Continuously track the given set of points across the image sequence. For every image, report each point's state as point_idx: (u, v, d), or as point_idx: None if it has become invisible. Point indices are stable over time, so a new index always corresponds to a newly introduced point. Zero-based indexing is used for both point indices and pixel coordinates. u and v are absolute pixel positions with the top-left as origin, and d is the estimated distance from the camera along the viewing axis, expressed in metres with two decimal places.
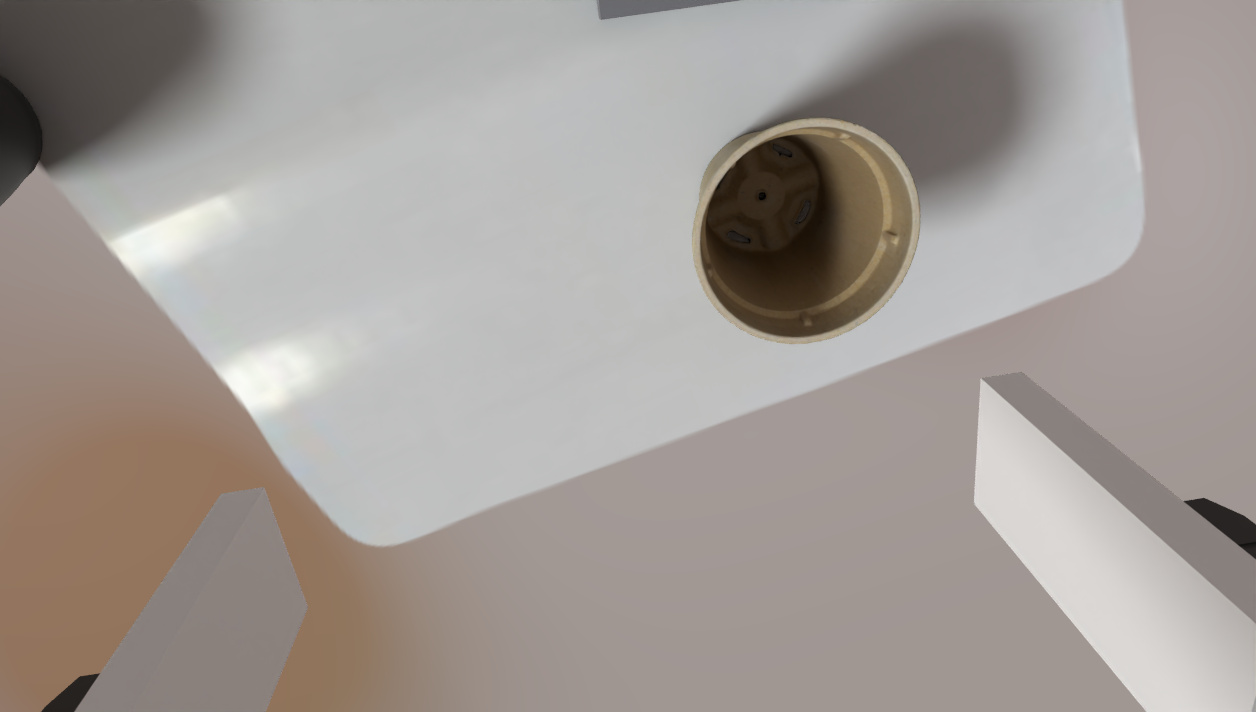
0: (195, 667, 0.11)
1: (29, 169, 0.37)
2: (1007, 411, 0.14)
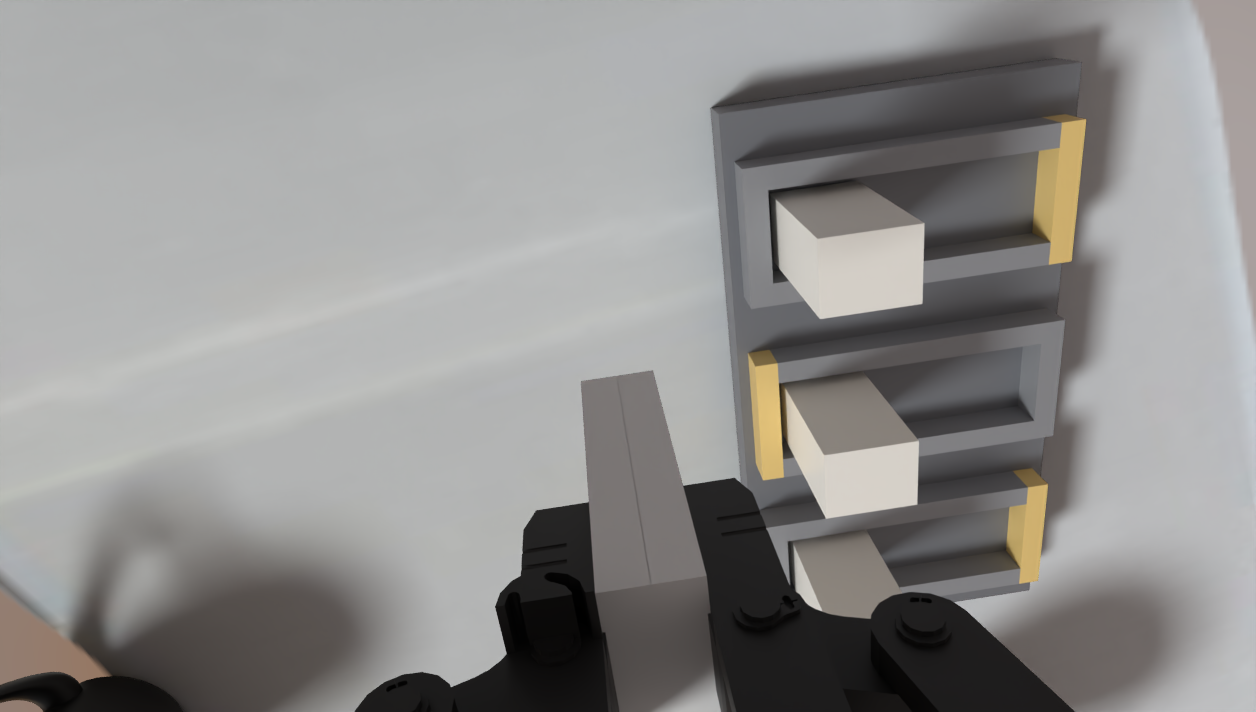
0: None
1: None
2: (620, 404, 0.16)
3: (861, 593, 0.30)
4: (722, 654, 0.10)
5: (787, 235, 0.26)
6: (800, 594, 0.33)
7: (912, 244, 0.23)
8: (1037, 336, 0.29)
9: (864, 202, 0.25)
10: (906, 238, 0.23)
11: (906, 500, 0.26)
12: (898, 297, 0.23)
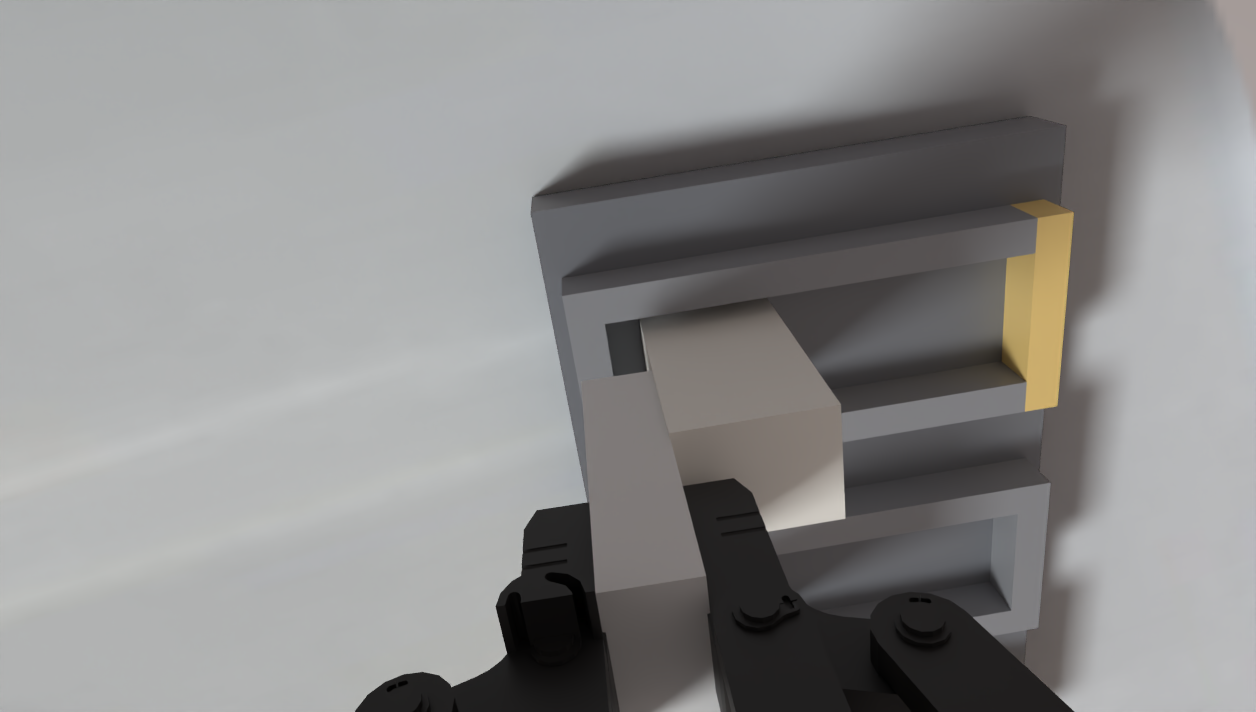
0: None
1: None
2: (620, 404, 0.16)
3: None
4: (722, 654, 0.10)
5: None
6: None
7: (823, 435, 0.14)
8: (1011, 505, 0.21)
9: (763, 345, 0.17)
10: (813, 427, 0.14)
11: None
12: (806, 511, 0.15)
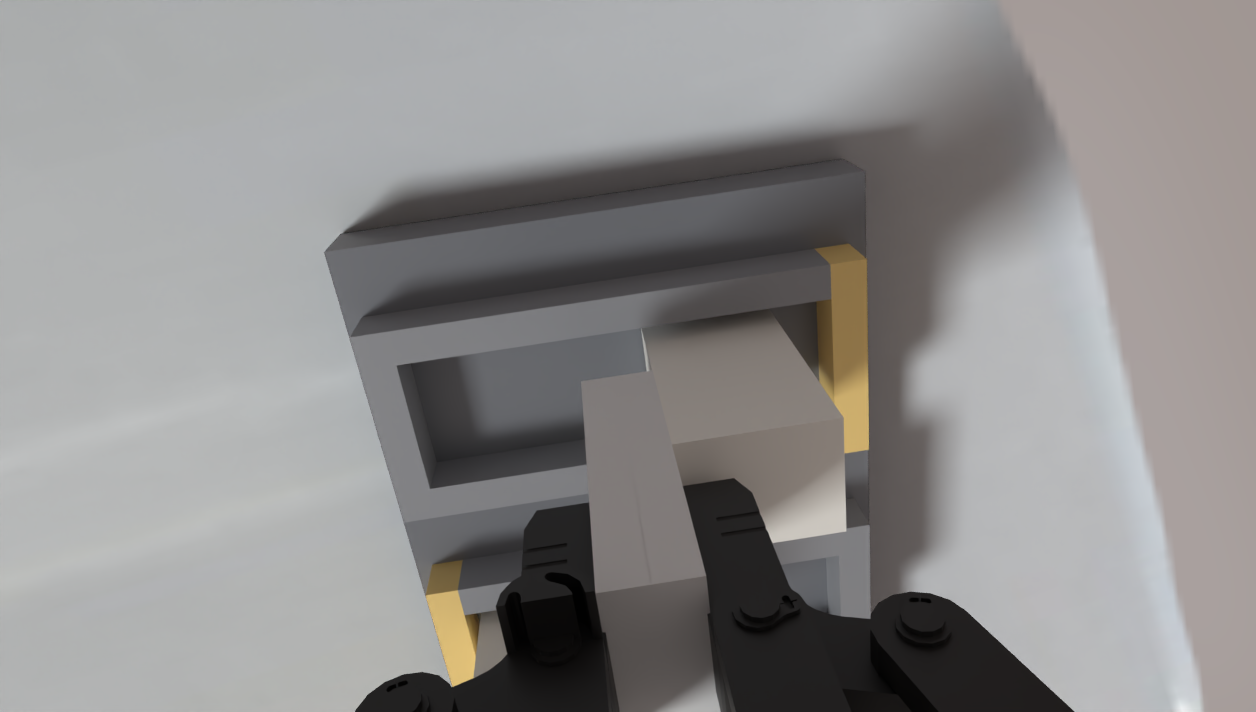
0: None
1: None
2: (620, 404, 0.16)
3: None
4: (722, 654, 0.10)
5: None
6: None
7: (825, 448, 0.14)
8: (832, 546, 0.21)
9: (765, 357, 0.17)
10: (815, 440, 0.14)
11: None
12: (807, 523, 0.15)
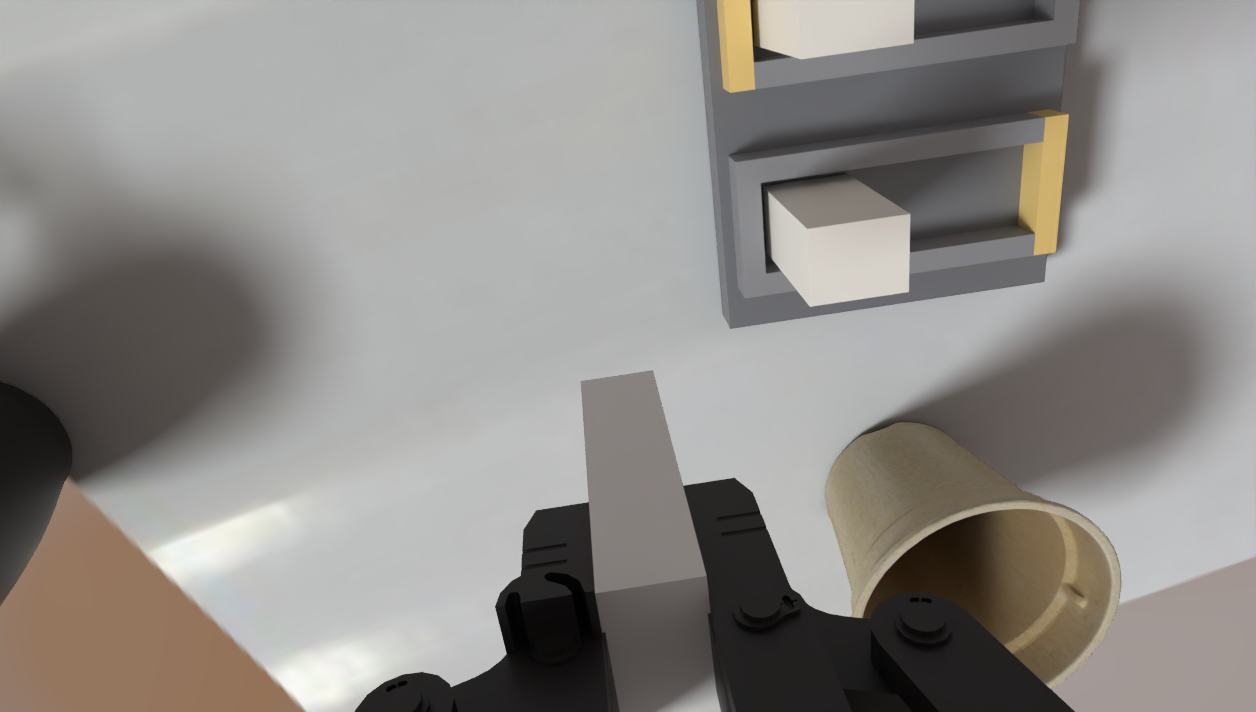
0: None
1: (58, 496, 0.31)
2: (621, 404, 0.16)
3: (846, 209, 0.25)
4: (722, 654, 0.10)
5: None
6: (776, 252, 0.28)
7: None
8: None
9: None
10: None
11: (899, 36, 0.21)
12: None
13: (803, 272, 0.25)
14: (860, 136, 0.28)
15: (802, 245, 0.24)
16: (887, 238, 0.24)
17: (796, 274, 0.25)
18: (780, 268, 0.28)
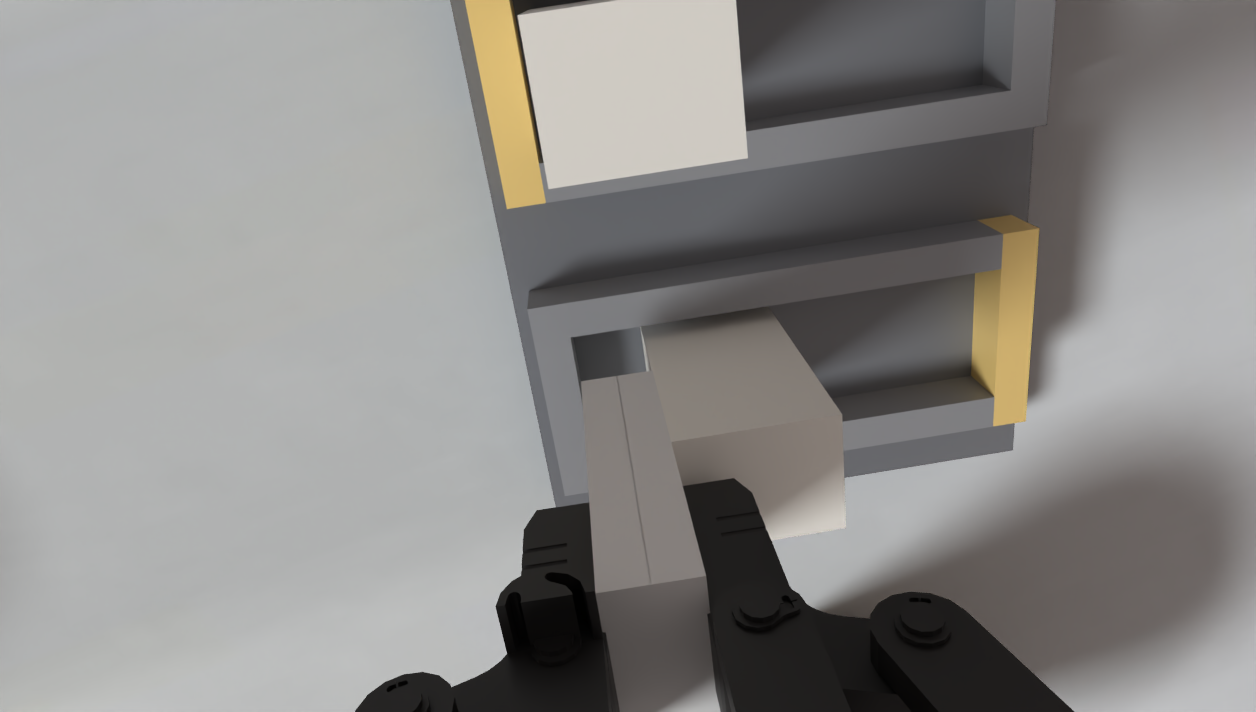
0: None
1: None
2: (620, 404, 0.16)
3: (745, 392, 0.15)
4: (722, 654, 0.10)
5: None
6: None
7: None
8: None
9: None
10: None
11: (722, 146, 0.12)
12: None
13: None
14: (727, 260, 0.19)
15: None
16: (805, 452, 0.14)
17: None
18: None
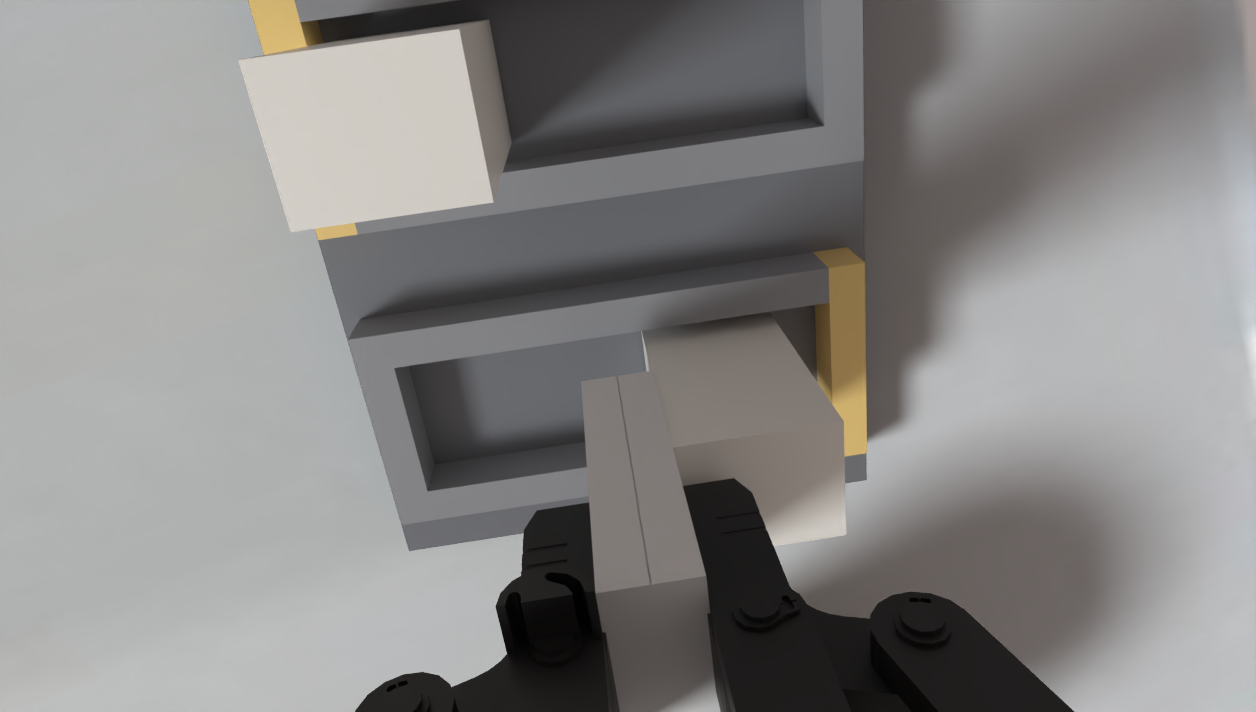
0: None
1: None
2: (620, 404, 0.16)
3: (746, 398, 0.15)
4: (721, 654, 0.10)
5: None
6: None
7: None
8: None
9: None
10: None
11: (465, 190, 0.12)
12: None
13: None
14: (560, 290, 0.19)
15: None
16: (807, 458, 0.14)
17: None
18: None
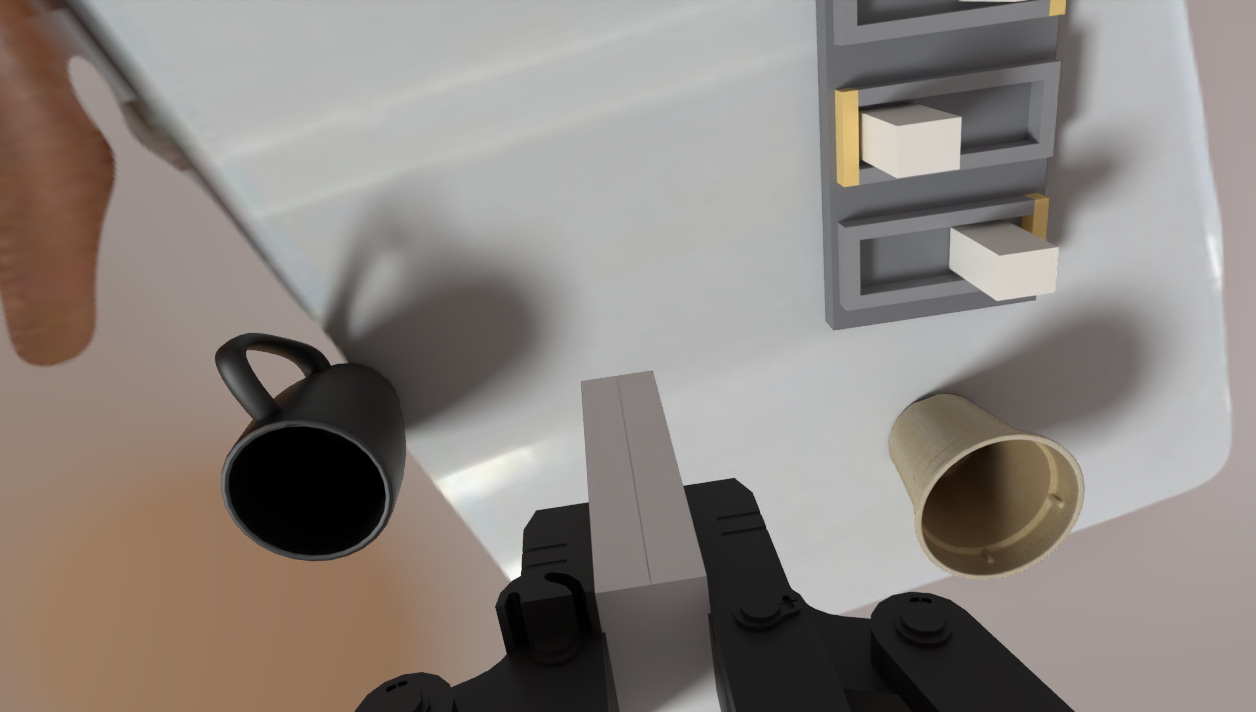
0: None
1: None
2: (621, 404, 0.16)
3: (1017, 243, 0.42)
4: (722, 654, 0.10)
5: None
6: (961, 268, 0.45)
7: None
8: (1041, 73, 0.41)
9: None
10: None
11: (952, 165, 0.38)
12: None
13: (992, 280, 0.42)
14: (920, 210, 0.45)
15: (993, 265, 0.41)
16: (1044, 261, 0.41)
17: (984, 282, 0.42)
18: (965, 278, 0.45)
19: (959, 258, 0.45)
